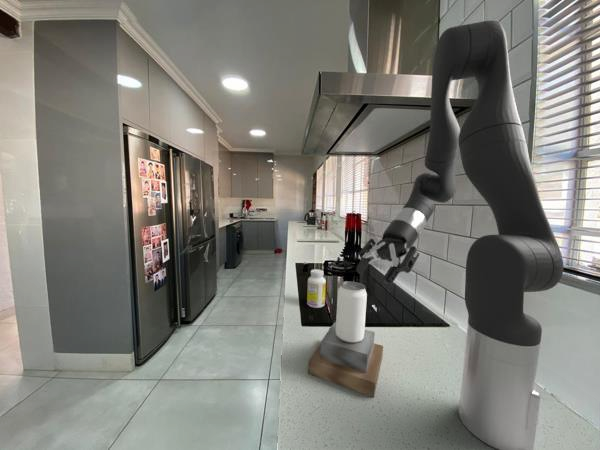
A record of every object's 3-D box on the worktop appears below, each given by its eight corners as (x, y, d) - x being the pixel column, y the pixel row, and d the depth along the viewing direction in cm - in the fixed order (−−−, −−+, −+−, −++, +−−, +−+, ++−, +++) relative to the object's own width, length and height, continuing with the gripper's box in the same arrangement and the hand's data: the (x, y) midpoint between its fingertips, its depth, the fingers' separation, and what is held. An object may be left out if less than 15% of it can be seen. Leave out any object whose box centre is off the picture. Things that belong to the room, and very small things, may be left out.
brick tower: (382, 357, 59) (384, 330, 59) (373, 397, 47) (376, 363, 46) (328, 341, 65) (329, 316, 65) (307, 373, 53) (309, 342, 52)
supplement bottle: (320, 300, 93) (322, 268, 92) (327, 307, 87) (329, 273, 86) (304, 301, 91) (305, 268, 90) (310, 309, 85) (311, 273, 84)
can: (342, 345, 52) (346, 291, 50) (331, 330, 58) (333, 281, 57) (369, 342, 53) (373, 289, 52) (355, 327, 59) (358, 280, 58)
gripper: (377, 217, 67) (343, 260, 62) (425, 220, 55) (389, 275, 50) (388, 235, 71) (357, 278, 66) (436, 242, 59) (403, 295, 54)
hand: (371, 276), depth 58 cm, fingers open, 8 cm apart
